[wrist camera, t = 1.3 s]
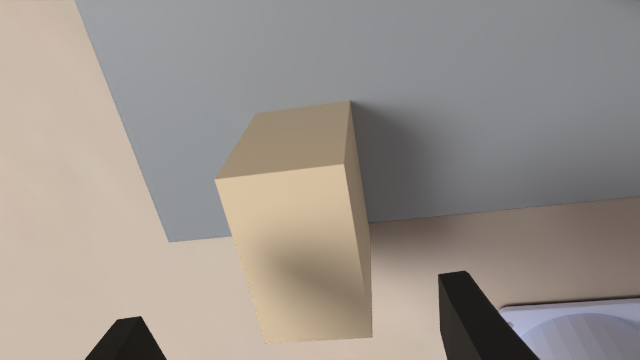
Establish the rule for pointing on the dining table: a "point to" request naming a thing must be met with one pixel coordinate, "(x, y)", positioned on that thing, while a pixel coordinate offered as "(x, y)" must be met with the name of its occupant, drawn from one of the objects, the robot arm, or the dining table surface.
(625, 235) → the dining table surface
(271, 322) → the carton
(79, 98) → the dining table surface
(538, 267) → the dining table surface
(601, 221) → the dining table surface
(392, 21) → the shelf board
